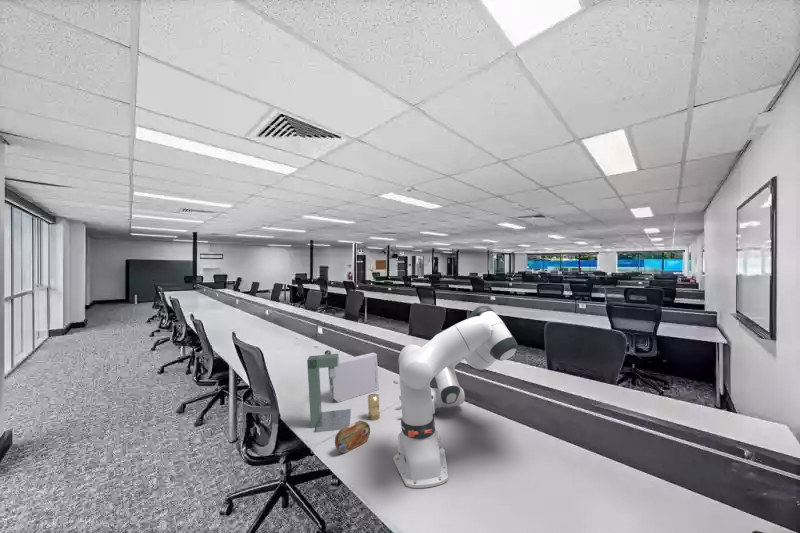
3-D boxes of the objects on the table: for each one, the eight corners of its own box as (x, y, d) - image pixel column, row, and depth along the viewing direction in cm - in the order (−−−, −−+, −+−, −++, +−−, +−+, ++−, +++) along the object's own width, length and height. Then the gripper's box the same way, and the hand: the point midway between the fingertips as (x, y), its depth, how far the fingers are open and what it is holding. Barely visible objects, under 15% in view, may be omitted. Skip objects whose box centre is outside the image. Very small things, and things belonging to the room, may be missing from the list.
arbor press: (349, 428, 134) (345, 359, 134) (309, 432, 132) (305, 362, 132) (351, 406, 155) (348, 346, 154) (316, 410, 153) (313, 349, 152)
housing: (380, 419, 140) (378, 397, 140) (369, 420, 139) (367, 398, 139) (379, 414, 145) (378, 393, 145) (368, 415, 144) (367, 394, 144)
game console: (380, 389, 174) (378, 354, 174) (334, 404, 159) (332, 365, 159) (375, 386, 179) (373, 352, 179) (330, 400, 163) (328, 362, 163)
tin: (338, 457, 114) (337, 434, 114) (334, 453, 116) (332, 431, 116) (371, 440, 124) (370, 419, 124) (366, 437, 126) (365, 416, 126)
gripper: (425, 383, 155) (397, 386, 154) (434, 401, 135) (402, 405, 134) (425, 396, 155) (398, 399, 154) (434, 415, 135) (403, 419, 134)
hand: (400, 402), depth 144 cm, fingers open, 8 cm apart
